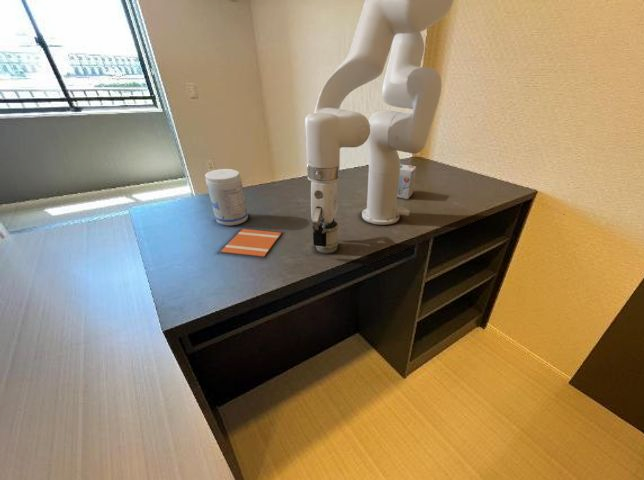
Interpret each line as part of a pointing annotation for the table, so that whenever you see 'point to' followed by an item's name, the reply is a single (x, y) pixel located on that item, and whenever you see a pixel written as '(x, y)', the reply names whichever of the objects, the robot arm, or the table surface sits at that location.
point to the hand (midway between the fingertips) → (324, 236)
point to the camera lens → (330, 238)
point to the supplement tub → (227, 196)
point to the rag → (251, 242)
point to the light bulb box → (406, 181)
